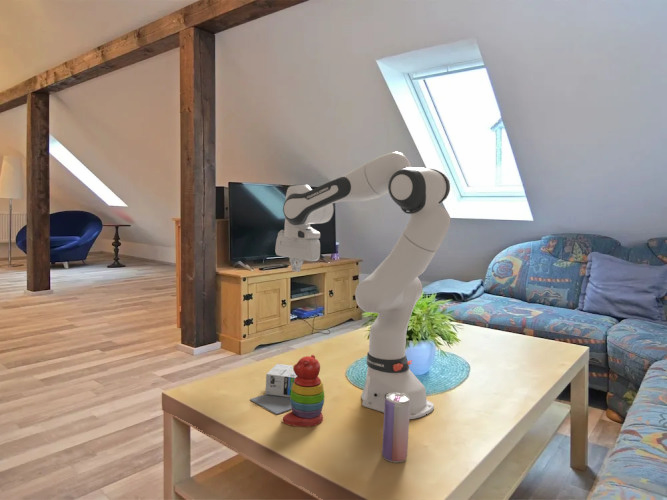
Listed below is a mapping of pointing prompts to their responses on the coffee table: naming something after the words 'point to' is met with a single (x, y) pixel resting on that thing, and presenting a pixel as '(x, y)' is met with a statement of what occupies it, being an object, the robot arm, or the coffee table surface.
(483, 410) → the coffee table surface
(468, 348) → the coffee table surface
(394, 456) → the beverage can
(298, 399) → the stacking bear
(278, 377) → the light bulb box
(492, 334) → the coffee table surface
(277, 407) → the mat
